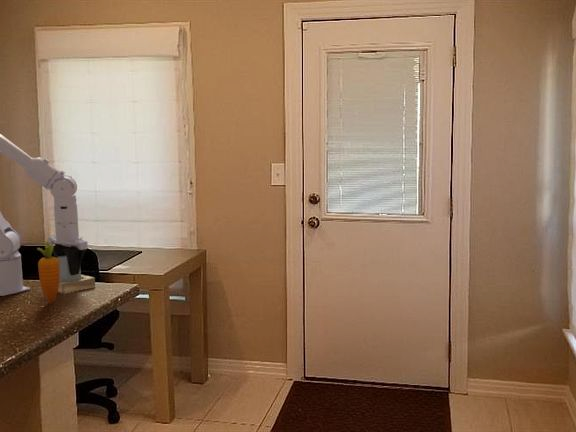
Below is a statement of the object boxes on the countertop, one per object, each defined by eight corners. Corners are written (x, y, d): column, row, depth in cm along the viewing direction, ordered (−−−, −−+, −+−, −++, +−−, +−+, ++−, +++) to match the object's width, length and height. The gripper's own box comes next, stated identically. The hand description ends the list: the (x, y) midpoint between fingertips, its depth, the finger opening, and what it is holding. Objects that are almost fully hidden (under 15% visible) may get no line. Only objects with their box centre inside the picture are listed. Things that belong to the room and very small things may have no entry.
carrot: (55, 306, 154) (51, 244, 152) (36, 305, 155) (32, 244, 153) (66, 301, 159) (62, 241, 157) (47, 300, 160) (43, 240, 158)
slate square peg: (59, 282, 171) (57, 256, 170) (72, 279, 174) (70, 254, 173) (68, 284, 169) (66, 258, 168) (81, 281, 172) (79, 256, 171)
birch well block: (45, 288, 171) (45, 279, 171) (75, 282, 178) (74, 273, 178) (65, 294, 165) (64, 284, 165) (95, 286, 172) (94, 277, 172)
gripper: (96, 222, 168) (99, 274, 170) (63, 218, 177) (66, 267, 179) (72, 226, 162) (75, 279, 164) (40, 221, 171) (43, 271, 173)
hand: (69, 273), depth 171 cm, fingers closed on slate square peg, 4 cm apart
